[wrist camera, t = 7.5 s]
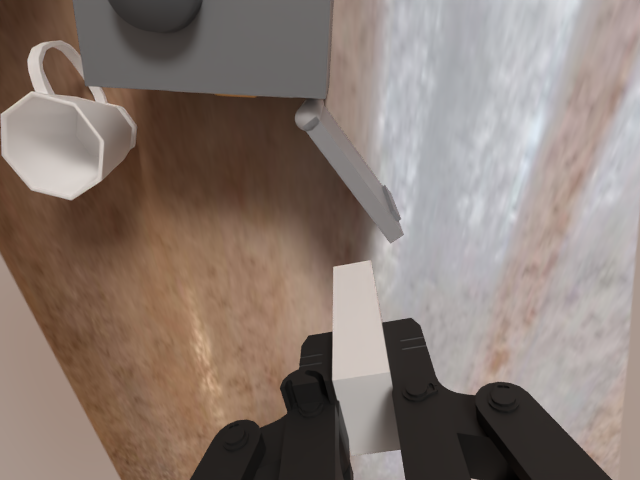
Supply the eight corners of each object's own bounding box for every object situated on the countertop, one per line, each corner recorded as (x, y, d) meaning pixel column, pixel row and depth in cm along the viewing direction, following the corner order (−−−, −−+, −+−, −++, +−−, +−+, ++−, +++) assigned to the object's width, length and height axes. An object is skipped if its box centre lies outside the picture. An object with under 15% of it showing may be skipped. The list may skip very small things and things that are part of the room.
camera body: (150, -44, 31) (38, -105, 19) (335, -35, 31) (334, -91, 19) (161, 83, 34) (70, 96, 23) (328, 92, 34) (324, 109, 22)
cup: (85, 177, 37) (21, 207, 30) (40, 49, 33) (-45, 47, 26) (164, 166, 37) (120, 194, 29) (128, 35, 33) (67, 29, 25)
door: (376, 201, 36) (387, 245, 28) (301, 101, 33) (290, 116, 25) (391, 191, 36) (407, 232, 27) (317, 88, 33) (310, 99, 25)
